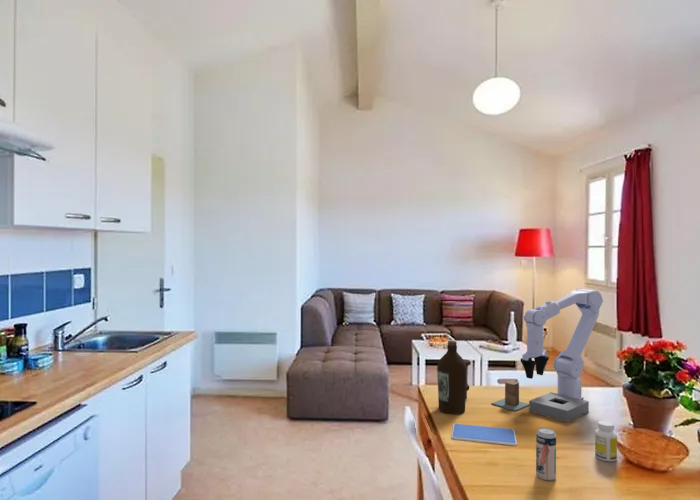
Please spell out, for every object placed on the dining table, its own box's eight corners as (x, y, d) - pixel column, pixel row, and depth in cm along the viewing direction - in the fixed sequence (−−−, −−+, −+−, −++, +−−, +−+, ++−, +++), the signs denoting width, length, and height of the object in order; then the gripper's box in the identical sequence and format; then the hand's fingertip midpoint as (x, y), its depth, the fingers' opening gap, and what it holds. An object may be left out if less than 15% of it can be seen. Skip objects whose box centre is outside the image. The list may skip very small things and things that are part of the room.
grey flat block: (551, 402, 183) (551, 392, 183) (588, 411, 172) (588, 401, 172) (529, 411, 173) (529, 400, 173) (567, 422, 162) (567, 410, 162)
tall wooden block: (510, 401, 182) (510, 380, 182) (518, 404, 179) (519, 382, 179) (505, 403, 179) (505, 382, 179) (513, 406, 177) (513, 384, 177)
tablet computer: (450, 440, 147) (450, 436, 147) (453, 426, 159) (453, 422, 159) (517, 448, 142) (517, 444, 142) (514, 432, 154) (514, 428, 154)
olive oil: (455, 403, 181) (455, 337, 180) (472, 412, 171) (473, 343, 171) (431, 407, 176) (431, 339, 176) (447, 416, 167) (448, 345, 167)
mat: (506, 399, 187) (506, 397, 187) (530, 405, 179) (530, 404, 179) (491, 404, 180) (491, 403, 180) (515, 411, 173) (515, 410, 173)
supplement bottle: (614, 455, 136) (615, 421, 136) (618, 463, 131) (618, 427, 131) (593, 452, 138) (593, 418, 138) (596, 460, 133) (596, 425, 133)
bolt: (469, 397, 189) (469, 359, 189) (471, 401, 184) (471, 362, 184) (454, 396, 190) (454, 358, 189) (455, 400, 184) (456, 361, 184)
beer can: (532, 473, 125) (532, 427, 125) (550, 472, 126) (550, 427, 125) (541, 482, 120) (541, 434, 120) (559, 481, 121) (560, 434, 121)
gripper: (534, 345, 175) (534, 382, 175) (554, 340, 184) (554, 375, 184) (517, 342, 180) (517, 377, 181) (537, 337, 190) (537, 371, 190)
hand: (534, 376), depth 183 cm, fingers open, 7 cm apart
